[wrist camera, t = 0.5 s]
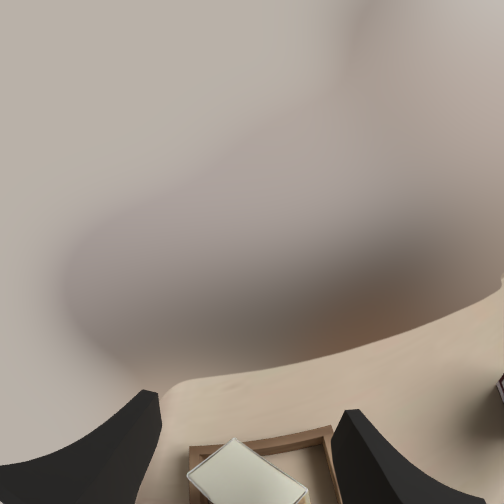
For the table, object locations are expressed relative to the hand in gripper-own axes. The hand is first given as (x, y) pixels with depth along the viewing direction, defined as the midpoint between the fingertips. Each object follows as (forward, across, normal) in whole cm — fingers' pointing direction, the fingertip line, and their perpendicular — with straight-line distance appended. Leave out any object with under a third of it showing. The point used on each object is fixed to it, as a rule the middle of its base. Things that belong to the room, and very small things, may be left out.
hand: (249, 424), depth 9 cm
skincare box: (+4, -4, +18) cm, 19 cm away
